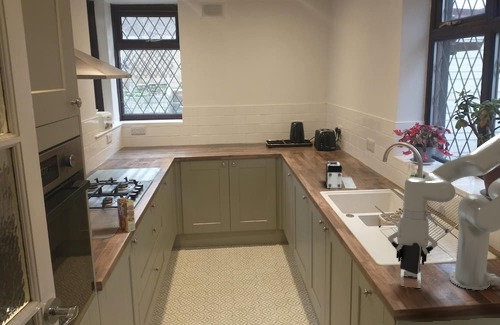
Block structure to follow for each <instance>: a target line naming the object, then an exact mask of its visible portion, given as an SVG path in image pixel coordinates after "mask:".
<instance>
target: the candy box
mask: <svg viewBox="0 0 500 325" xmlns="http://www.w3.org/2000/svg"><path fill="white" fill-rule="evenodd" d="M134 203H135V202H134V200H133V199H130V198H127V197H120V198H116V205H117V207H116V208H117V218H118V228H119V229H120V230H122V231H125V232H126V233H132V232H134V231H136V219H135V204H134Z"/></svg>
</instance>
